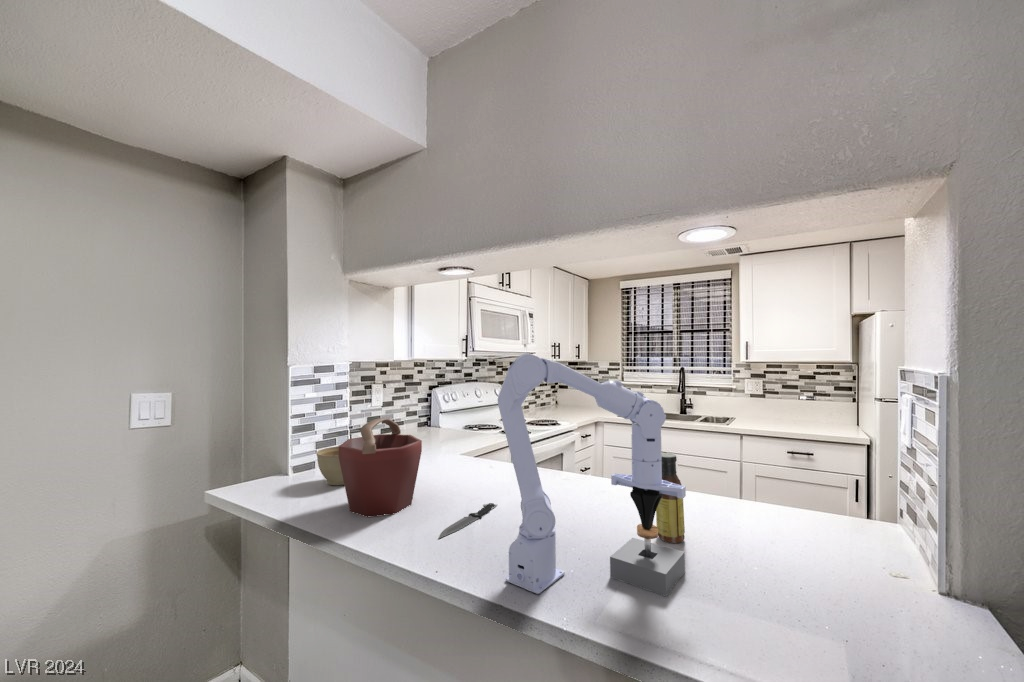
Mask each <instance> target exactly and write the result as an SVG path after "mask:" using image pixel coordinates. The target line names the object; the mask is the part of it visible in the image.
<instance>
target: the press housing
mask: <svg viewBox="0 0 1024 682" xmlns="http://www.w3.org/2000/svg"><path fill="white" fill-rule="evenodd" d="M685 559H686V552H685V551H682V550H680V549H675V548H671V547H668V546H666V545H661V544H657V543H654V542H651V556H650V557H647V556H645V545H644V539H643V540H642V539H639V538H635V537H631V538H630V539H629V540H628V541H627V542H626V543H625V544H623V545H622V546H621V547H619V549H617V550H616V551H614V553H613V554H612V555H610V556H609V578H612V579H614V580H617V581H621V582H623V583H625V584H629V585H632V586H635V587H637V586H638V587H637V588H641V589H644V590H646V591H648V592H649V591H650V592H652V593H655V594H657V595H661V596H664V597H667V596H668V595H669V594H670V592H671V591H672V590H673V588H674V587H675V586H676V585H677V583H678V582H679V580H681V578H682V577H683V576H684V574H685V573H686V560H685Z"/></svg>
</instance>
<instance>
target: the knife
mask: <svg viewBox="0 0 1024 682" xmlns="http://www.w3.org/2000/svg"><path fill="white" fill-rule="evenodd" d="M497 507H498V504H494V503H493V502H492V503H491V502H490V503H484V504H483V507H482V508H481V509H479V510H478V511H477V512H471V513H469V514H468V516H463V518H460V519H459V520H457V521H455V522H454V523H452V524H451V525H449V526H447V527H446V528H444V529H443V530H442V531H441V532H440V535H439V537H438V539H441V538H443V537H446V536H448V535H451V534H452V533H455V532H457V531H459V530H462V529H463V528H465V527H467V526H468V525H470V524H471V523H473V522H475V521H477V520H482V518H483V516H485V514H486V515H487V514H489V513H490V512H491V511H492V510H493V509H495V508H497Z"/></svg>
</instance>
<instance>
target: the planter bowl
mask: <svg viewBox="0 0 1024 682" xmlns="http://www.w3.org/2000/svg"><path fill="white" fill-rule="evenodd" d="M339 446H340V445H338V446H337V445H336V446H330V447H325V448H322V449H319V450H318V451H316V457H317V460H316V461H317V466H318V468H319V469H318V470H319V471H320V473H321V475H322V476H323V478H324V479H325V480H326V483H327V484H328V485H330V486H345V485H344V480H343V476H342V471H341V466H340V461H339Z"/></svg>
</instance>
